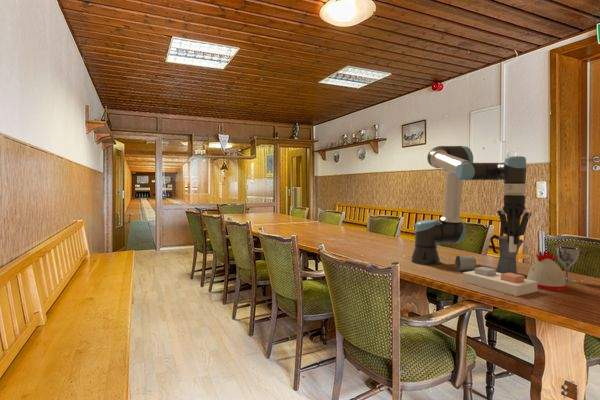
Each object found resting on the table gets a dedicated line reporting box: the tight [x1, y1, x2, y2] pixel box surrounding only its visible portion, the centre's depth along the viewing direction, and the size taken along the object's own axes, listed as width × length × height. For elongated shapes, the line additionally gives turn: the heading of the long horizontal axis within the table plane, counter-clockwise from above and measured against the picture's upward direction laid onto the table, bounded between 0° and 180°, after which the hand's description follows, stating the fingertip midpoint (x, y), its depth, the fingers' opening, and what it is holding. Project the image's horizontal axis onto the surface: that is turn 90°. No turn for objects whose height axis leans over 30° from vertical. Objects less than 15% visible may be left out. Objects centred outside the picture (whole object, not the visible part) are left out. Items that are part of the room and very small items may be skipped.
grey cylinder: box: [454, 254, 477, 272], centre depth 181 cm, size 11×8×8 cm
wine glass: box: [556, 245, 580, 284], centre depth 160 cm, size 8×8×15 cm
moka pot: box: [490, 234, 525, 274], centre depth 174 cm, size 10×15×20 cm, turn 41°
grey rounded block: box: [474, 266, 497, 276], centre depth 156 cm, size 6×6×4 cm
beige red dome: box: [526, 250, 567, 291], centre depth 152 cm, size 14×14×15 cm
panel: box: [462, 270, 538, 297], centre depth 151 cm, size 24×14×4 cm, turn 28°
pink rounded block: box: [501, 272, 525, 283], centre depth 146 cm, size 6×6×4 cm
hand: (512, 251), depth 145 cm, fingers closed
